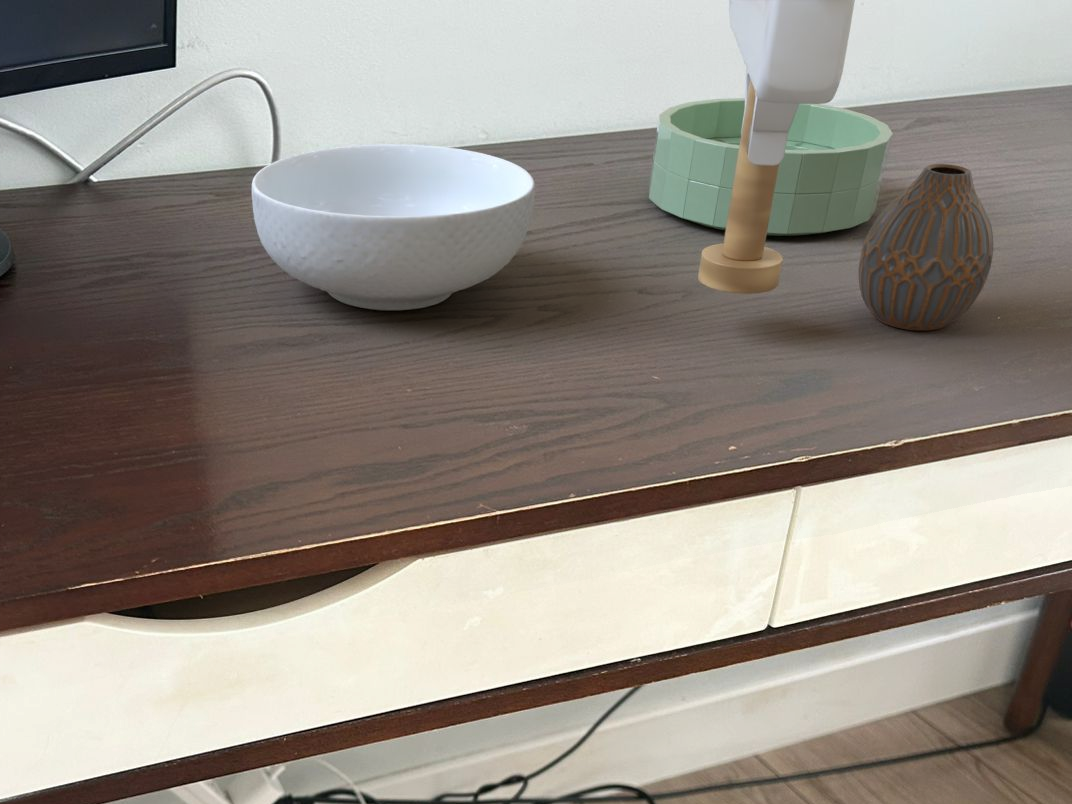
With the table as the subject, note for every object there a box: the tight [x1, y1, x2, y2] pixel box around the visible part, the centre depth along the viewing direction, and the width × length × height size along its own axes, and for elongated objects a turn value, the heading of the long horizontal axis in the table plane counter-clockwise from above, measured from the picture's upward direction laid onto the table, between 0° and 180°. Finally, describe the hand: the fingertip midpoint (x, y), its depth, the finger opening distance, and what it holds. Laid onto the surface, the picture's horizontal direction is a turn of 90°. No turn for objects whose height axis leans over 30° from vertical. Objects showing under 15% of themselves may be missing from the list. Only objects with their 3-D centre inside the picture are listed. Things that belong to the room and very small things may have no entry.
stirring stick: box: [697, 79, 784, 295], centre depth 74 cm, size 4×4×16 cm
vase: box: [858, 163, 994, 332], centre depth 79 cm, size 7×7×9 cm
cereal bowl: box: [251, 143, 536, 311], centre depth 84 cm, size 17×17×7 cm
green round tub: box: [648, 97, 894, 237], centre depth 98 cm, size 16×16×6 cm
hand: (760, 153), depth 74 cm, fingers closed on stirring stick, 2 cm apart
